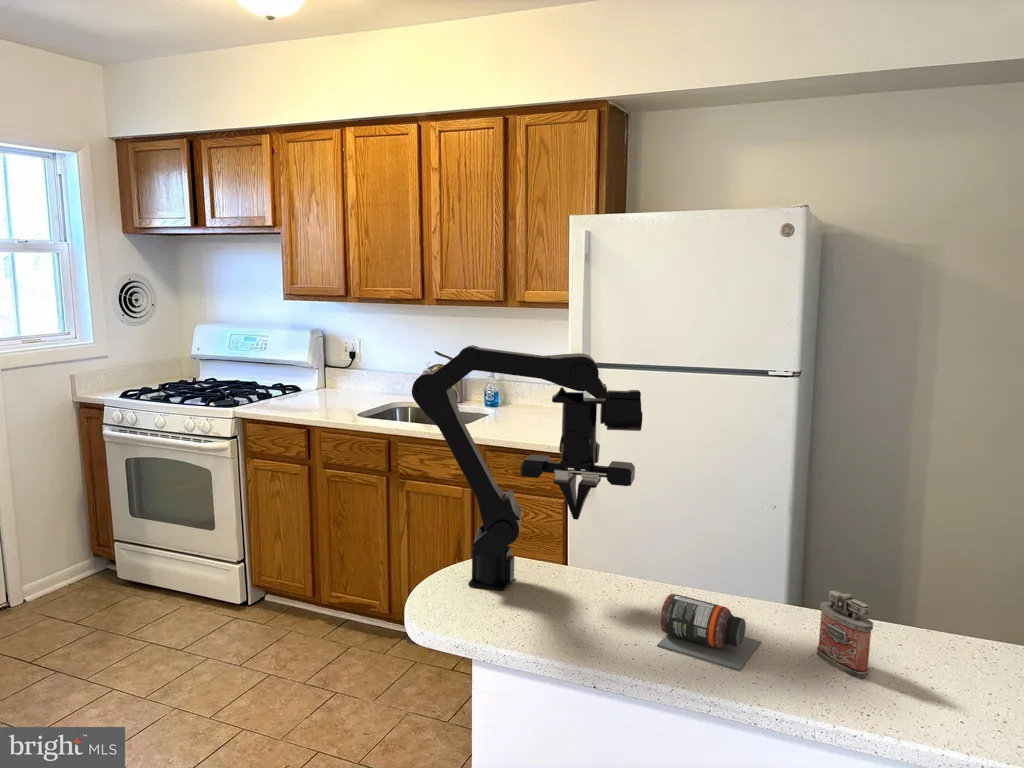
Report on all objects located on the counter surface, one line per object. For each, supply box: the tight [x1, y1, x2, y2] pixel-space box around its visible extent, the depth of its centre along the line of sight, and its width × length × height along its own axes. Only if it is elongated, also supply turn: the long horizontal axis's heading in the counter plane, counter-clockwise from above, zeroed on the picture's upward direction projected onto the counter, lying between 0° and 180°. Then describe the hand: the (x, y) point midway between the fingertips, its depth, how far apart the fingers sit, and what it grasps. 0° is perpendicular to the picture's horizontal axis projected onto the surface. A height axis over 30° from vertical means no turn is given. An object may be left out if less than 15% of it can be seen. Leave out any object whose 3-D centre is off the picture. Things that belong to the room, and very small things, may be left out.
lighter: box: [816, 590, 874, 679], centre depth 105 cm, size 8×3×10 cm, turn 23°
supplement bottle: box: [659, 593, 747, 648], centre depth 110 cm, size 6×6×11 cm
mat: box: [656, 634, 762, 672], centre depth 110 cm, size 12×10×1 cm
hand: (576, 518), depth 129 cm, fingers closed
